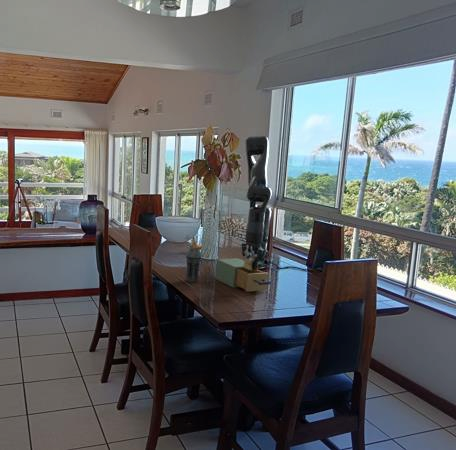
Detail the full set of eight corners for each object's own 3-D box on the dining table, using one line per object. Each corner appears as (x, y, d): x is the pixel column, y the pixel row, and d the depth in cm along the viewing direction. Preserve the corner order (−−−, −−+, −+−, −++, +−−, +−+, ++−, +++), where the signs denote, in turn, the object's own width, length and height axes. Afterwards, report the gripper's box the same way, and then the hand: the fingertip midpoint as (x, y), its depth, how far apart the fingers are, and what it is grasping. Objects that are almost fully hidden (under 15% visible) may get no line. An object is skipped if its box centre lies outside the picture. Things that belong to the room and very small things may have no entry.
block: (251, 267, 209) (252, 257, 208) (257, 269, 205) (258, 260, 205) (243, 267, 207) (244, 258, 206) (249, 270, 203) (250, 260, 203)
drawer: (274, 293, 201) (276, 276, 199) (253, 295, 195) (255, 277, 194) (248, 281, 217) (250, 265, 215) (228, 282, 212) (230, 266, 210)
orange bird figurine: (213, 256, 270) (215, 237, 268) (183, 253, 271) (184, 234, 269) (213, 253, 276) (215, 235, 275) (183, 250, 278) (185, 232, 276)
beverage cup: (202, 281, 214) (206, 239, 210) (193, 284, 208) (197, 241, 205) (190, 277, 218) (194, 236, 215) (180, 280, 213) (184, 238, 210)
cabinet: (254, 285, 213) (257, 265, 212) (232, 287, 208) (235, 267, 206) (236, 277, 226) (238, 258, 225) (214, 278, 221) (216, 259, 219)
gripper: (272, 233, 199) (267, 272, 202) (251, 227, 211) (247, 263, 214) (258, 234, 196) (253, 272, 198) (238, 228, 208) (234, 264, 211)
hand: (250, 268), depth 206 cm, fingers closed on block, 4 cm apart
